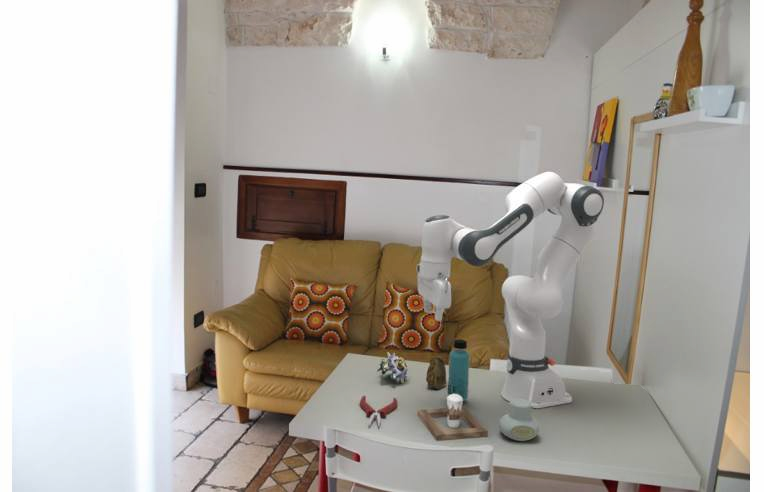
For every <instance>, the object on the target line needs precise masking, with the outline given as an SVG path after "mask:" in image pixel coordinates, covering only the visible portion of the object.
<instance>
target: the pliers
mask: <svg viewBox="0 0 764 492" xmlns="http://www.w3.org/2000/svg"><path fill="white" fill-rule="evenodd" d="M366 396H367V395H362V396H361V399H360V401H359V405H360V408H361V409H362V410H363V411H364V412H365V413H366V414H365V416H366V419H368V418H369V421H368V428H370V427H371V426H372V425H373V423H374V422H375V421H376V425H377V428H380V425H381V422H382V419H384V420H385V419H387V415H388V414H390V413H392V412H394V411H395V410H396V409H397V408H398V399H397V398H396V397H393V398H392V399H393V401H392V402H391V403H389V404H387V405H386V406H384V407H382V408H380V409H378V410H377V411H376V409H375V408H373V407H372V406H371V405H370V404H369V403H368V402H366V398H367V397H366Z"/></svg>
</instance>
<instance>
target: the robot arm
mask: <svg viewBox="0 0 764 492" xmlns="http://www.w3.org/2000/svg"><path fill="white" fill-rule="evenodd" d="M604 198H605V197H604V196H603V193H602V192H601V191H600V190H599V189H597V188H596V187H593V186H591V185H585V184H581V183H577V182H571V183H570V182H564V181H563V179H562V177H561V176H560V175H558V174H557V173H556V172H553V171H545V172H542V173H539V174H538V175H535V176H533V177H532V178H529V179H527V180H525V181H523V182H522V183H521V184H519V185H518V186H516V187H514V188H513V189H512V190H511V191H510V192H509V193H508V194H507V195H506V197H505V201H504V208H505V211H506V214H505V215H504V216H502V217H501V218H500V219H499V220H497V221H496V222H495V223H493V224H492V225H491V226H489V227H488V228H485V229H474V228H470V227H467V226H465V225H463V224H460V223H459V222H457V221H455V220H454V219H452V217H450V215H446V214H444V215H443V214H442V215H433V216H430V217H428V218H426V219H425V221H424V224H423V227H422V233H421V249H422V251H421V253H422V254H421V257H420V262H419V264H416V268H415V269H416V272H417V291H418V294H419V296H421V297H422V300H423V305H424V306H423V307H424V309H423V310H424V312H425V313H427V314H429V313H432V305H434V306H435V313H434V320H435V321H436V322H437V321H438V322H441V321H442V320H443V313H444V312H445V309H450V308H451V305H452V286H451V283H450V282H449V281H448V279H449V278H450V277H451V264H452V262H451V261H452V259H453V258H456V259H459V260H462V261H464V262H466V263H467V264H469V265H470V266H474V267H481V266H485V265H487V264H489V263H490V261H492V260H493V259H494V257H495V256H496V254H497V252H498V251H499V250H500V248H502V247H503V246H504V245H505V244H507V243H508V242H509V241H511V239H513V238H514V237H515V236H517V234H519V233H520V232H522V231H523V230H525V228H526V227H528V226H529V224H531V222H532V221H533V220H534V219H536V218H538V217H539V216H540V215H541V214H543V213H545V212H546V211H548V212H549V213H550V214H553V215H555V216H556V215H557V216H559V217H561V220H560V224H559V226H558V228H557V229H556V230H555V231H554V232H553V234H552V236H551V237H550V238H549V239H548V241H547V242H546V244H545V245H544V247H543V248H542V249H541V251H540V252H539V254H538V255H537V258H536V259H537V260H536V261H537V268H536V271H535V273H534V276H533V277H529V276H527V275H517V274H516V275H511V276H509V277H507V278H506V279H505V280H504V282H503V283H502V286H501V295H502V297H503V300H504V302H505V305H506V309H507V314H508V315H507V316H508V321H509V329H510V331H509V334H510V335H509V352H508V353H507V358H506V376H505V382H504V385H503V387H502V390H501V393H500V396H501V397H502V398H503V399H504V400H506V401H508V402H510V401H511V400H512V399H525V400H527V401H529V402H530V403H531V408H533V409H542V408H548V407H553V406H559V405H565V404H570V403H573V397H572V395H571V394H570V393H569V392H567V391H566V386H565V382H564V380H563V378H561V377H560V375H558V374H557V373H556V372H555V371H554V370H552V369H551V368H550V367H549V366H551V367H553V366H554V365H556V361H555V359H553V358H552V357H551V358H550V357H547V356H546V355H545V353H546V337H547V334H546V333H547V332H546V330H545V328H544V326H543V323H542V320H552V319H554V318H556V317H557V316H558V315H559V314H560V313H561V311H562V310H563V307H564V306H563V305H564V299H563V290H564V288H565V283H566V281H567V279H568V276H570V275H569V274H570V273H571V272H572V271H573V269H574V267H575V266H576V264H577V263H578V261H579V260H580V259H581V257H582V255H583V254H584V253H585V251H586V250H587V248H588V246H589V244H590V242H591V240H592V238H593V235H594V233H595V228H594V225H593V224H595V223H596V222H597V221H598V218H599V217H600V215H601V214H602V212H603V208H604V205H605V199H604ZM431 304H432V305H431Z"/></svg>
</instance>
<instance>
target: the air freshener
mask: <svg viewBox="0 0 764 492" xmlns="http://www.w3.org/2000/svg"><path fill="white" fill-rule="evenodd" d="M508 406H509V407H508V408H509V409H508V413H505V414H504V415H503V416H501V418H500V419H499V421H498V427H499V430H500V432H501V433H502V434H503V435H504V436H506V437H507V438H509V439H511V440H514V441H515V442H516V441H517V442H525V441H529V440H530V441H531V440H532V439H533V438H535V437H536V436H537V435H539V432H540V425H539V423H538V421H537V420H536V419H535V418H534V417H533V416H532V415H531V414H532V407H531V403H530V402H529V401H527V400H525V399H512V400H511V401H509V405H508Z"/></svg>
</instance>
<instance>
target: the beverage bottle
mask: <svg viewBox="0 0 764 492" xmlns="http://www.w3.org/2000/svg"><path fill="white" fill-rule="evenodd" d="M467 347H468V343H467V340H465V339H460V338H459V339H455V340H454V341H453V348H454V349H453V350H452V351H450V353H449V363H448V380H447V381H448V383H447V395H446V396H447V397H448V396H449V395H451V394H458V395H460V396H461V397H462V398H463V401H465V400H467V398H468V396H469V395H468V394H469V375H470V374H469V373H470V372H469V371H470V355H471V354H470V353H469V352H468V351H467V350H466V349H467Z"/></svg>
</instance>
